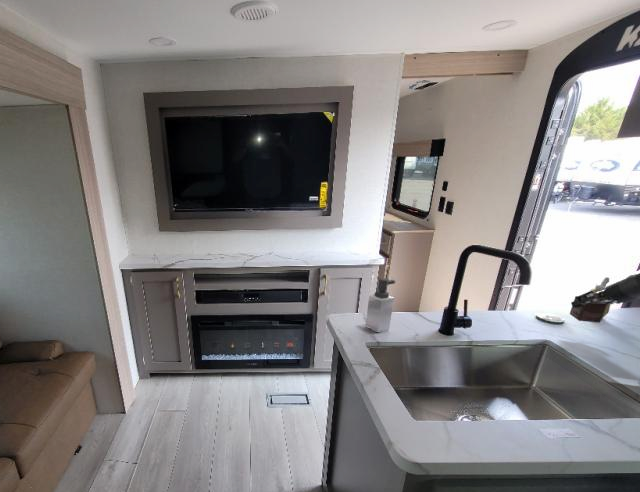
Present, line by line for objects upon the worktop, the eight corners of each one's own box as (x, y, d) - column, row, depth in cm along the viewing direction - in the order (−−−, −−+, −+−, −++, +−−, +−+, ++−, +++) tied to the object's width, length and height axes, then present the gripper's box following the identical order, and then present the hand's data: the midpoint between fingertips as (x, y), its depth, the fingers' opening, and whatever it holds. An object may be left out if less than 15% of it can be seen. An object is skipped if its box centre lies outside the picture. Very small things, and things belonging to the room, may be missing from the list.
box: (600, 323, 112) (608, 304, 110) (578, 321, 114) (585, 302, 112) (589, 315, 117) (597, 297, 115) (568, 313, 119) (575, 295, 117)
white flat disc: (558, 316, 141) (559, 314, 140) (567, 326, 133) (568, 323, 133) (532, 313, 144) (533, 311, 144) (539, 322, 137) (540, 319, 136)
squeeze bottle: (610, 322, 135) (627, 281, 128) (585, 320, 137) (601, 280, 131) (597, 314, 142) (613, 275, 135) (574, 312, 144) (588, 273, 138)
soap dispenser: (393, 328, 135) (400, 279, 128) (377, 333, 132) (383, 283, 124) (381, 322, 141) (387, 274, 133) (365, 326, 138) (371, 278, 130)
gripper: (614, 298, 99) (567, 315, 114) (664, 297, 99) (610, 314, 114) (603, 276, 102) (559, 295, 117) (651, 275, 102) (600, 295, 117)
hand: (584, 305), depth 115 cm, fingers closed on box, 7 cm apart
